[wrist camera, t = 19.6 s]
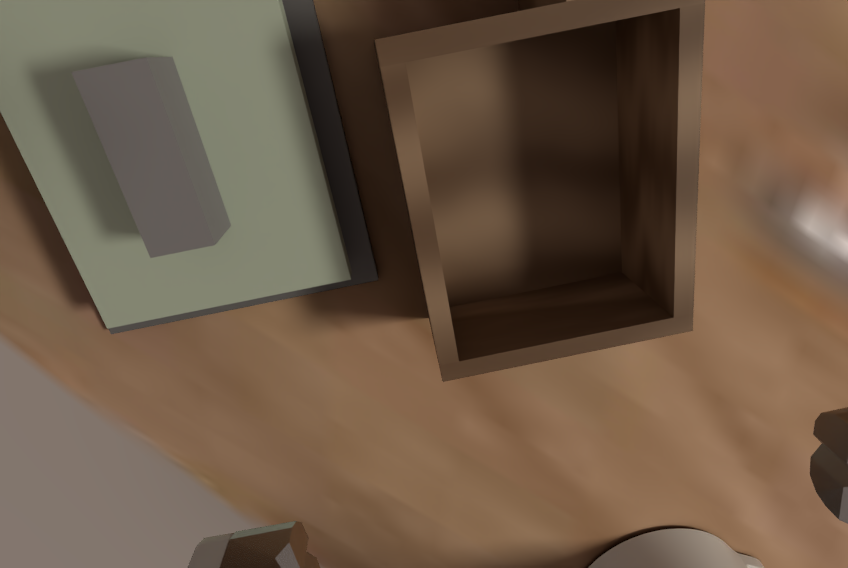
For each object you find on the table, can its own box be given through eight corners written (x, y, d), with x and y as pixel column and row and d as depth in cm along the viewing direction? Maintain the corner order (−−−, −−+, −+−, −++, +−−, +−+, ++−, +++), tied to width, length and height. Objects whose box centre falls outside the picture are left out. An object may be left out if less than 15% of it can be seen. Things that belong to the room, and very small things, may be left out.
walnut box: (638, 275, 33) (730, 352, 25) (429, 318, 33) (448, 409, 25) (634, -143, 24) (774, -247, 16) (348, -87, 24) (335, -162, 16)
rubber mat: (378, 276, 32) (378, 280, 31) (115, 329, 31) (111, 334, 31) (288, -102, 24) (287, -106, 23) (-61, -34, 24) (-71, -37, 23)
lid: (352, 264, 31) (348, 303, 26) (124, 310, 30) (78, 358, 26) (267, -66, 24) (242, -95, 19) (-26, -9, 24) (-125, -24, 19)
